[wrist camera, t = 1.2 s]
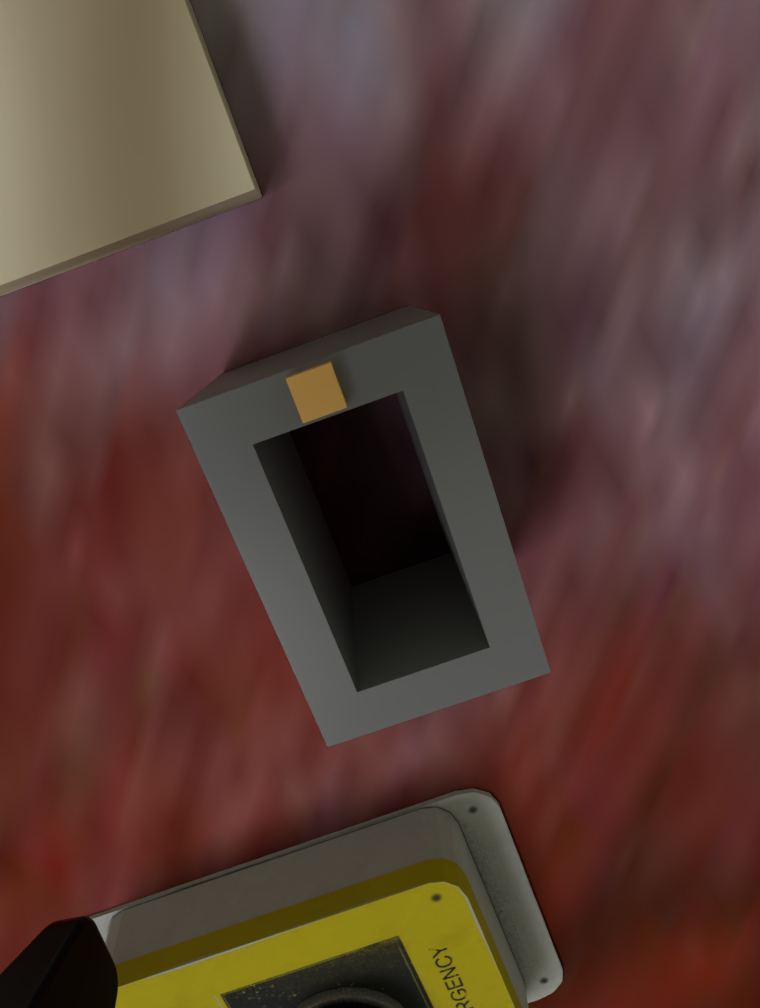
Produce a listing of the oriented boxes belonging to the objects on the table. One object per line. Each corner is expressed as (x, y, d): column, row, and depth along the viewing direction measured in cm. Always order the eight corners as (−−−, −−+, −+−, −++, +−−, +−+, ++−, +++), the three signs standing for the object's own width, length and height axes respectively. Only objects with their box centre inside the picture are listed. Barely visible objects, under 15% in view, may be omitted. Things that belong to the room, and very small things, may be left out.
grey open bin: (496, 572, 19) (554, 680, 14) (330, 630, 19) (327, 756, 14) (409, 305, 16) (442, 315, 11) (221, 373, 17) (172, 414, 12)
